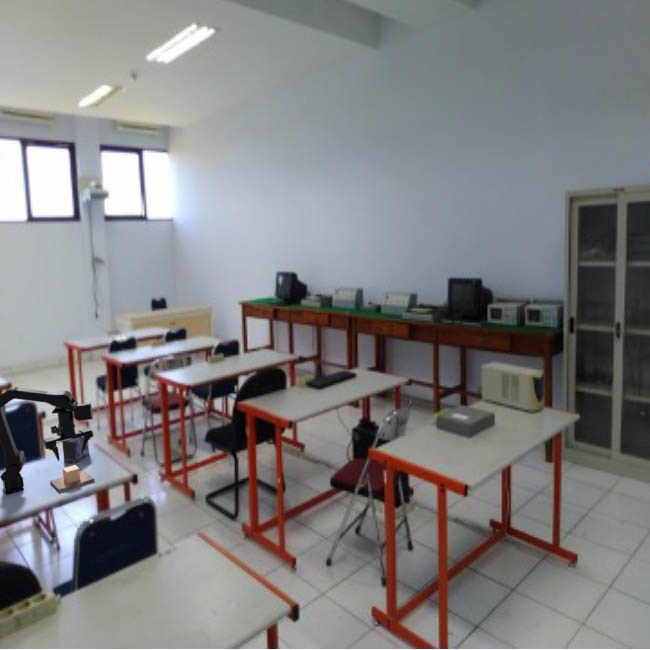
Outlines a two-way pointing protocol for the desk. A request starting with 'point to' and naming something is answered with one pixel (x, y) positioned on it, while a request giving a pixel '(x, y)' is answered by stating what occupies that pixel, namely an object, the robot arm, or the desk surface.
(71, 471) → the terracotta cube
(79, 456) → the small box
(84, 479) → the walnut board
